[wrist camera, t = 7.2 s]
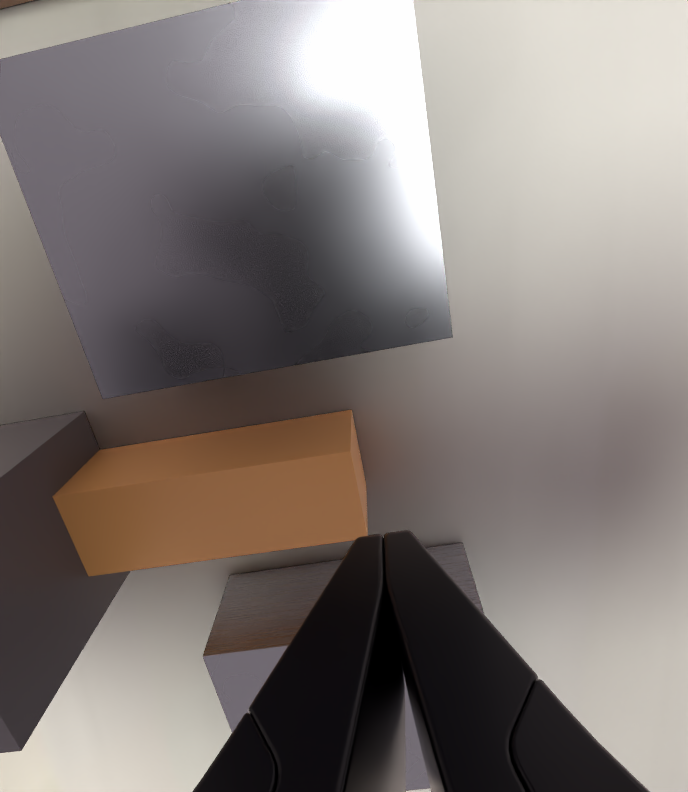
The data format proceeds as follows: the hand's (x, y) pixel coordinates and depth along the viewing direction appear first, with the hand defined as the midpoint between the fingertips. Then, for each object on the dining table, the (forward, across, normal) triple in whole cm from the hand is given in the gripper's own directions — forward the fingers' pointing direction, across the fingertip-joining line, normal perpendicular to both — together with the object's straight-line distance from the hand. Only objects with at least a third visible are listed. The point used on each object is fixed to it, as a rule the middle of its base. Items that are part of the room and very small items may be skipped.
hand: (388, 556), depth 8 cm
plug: (+4, +6, 0) cm, 7 cm away
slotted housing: (+4, +1, 0) cm, 4 cm away
